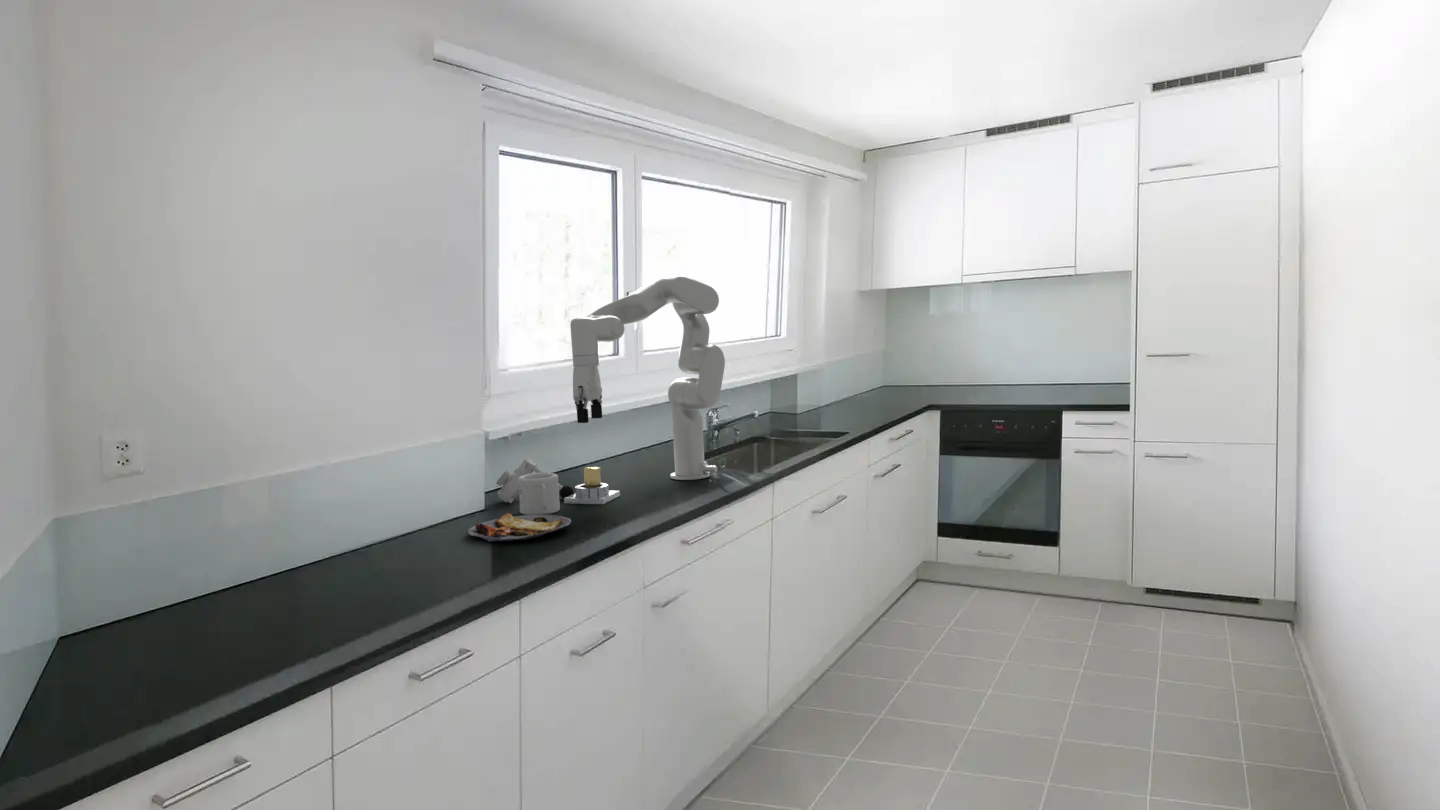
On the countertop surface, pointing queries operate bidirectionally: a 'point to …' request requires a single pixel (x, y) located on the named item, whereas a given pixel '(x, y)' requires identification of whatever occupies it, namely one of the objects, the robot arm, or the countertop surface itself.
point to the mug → (538, 493)
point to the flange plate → (590, 500)
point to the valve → (512, 486)
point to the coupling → (592, 477)
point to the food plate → (518, 527)
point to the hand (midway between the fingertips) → (590, 420)
